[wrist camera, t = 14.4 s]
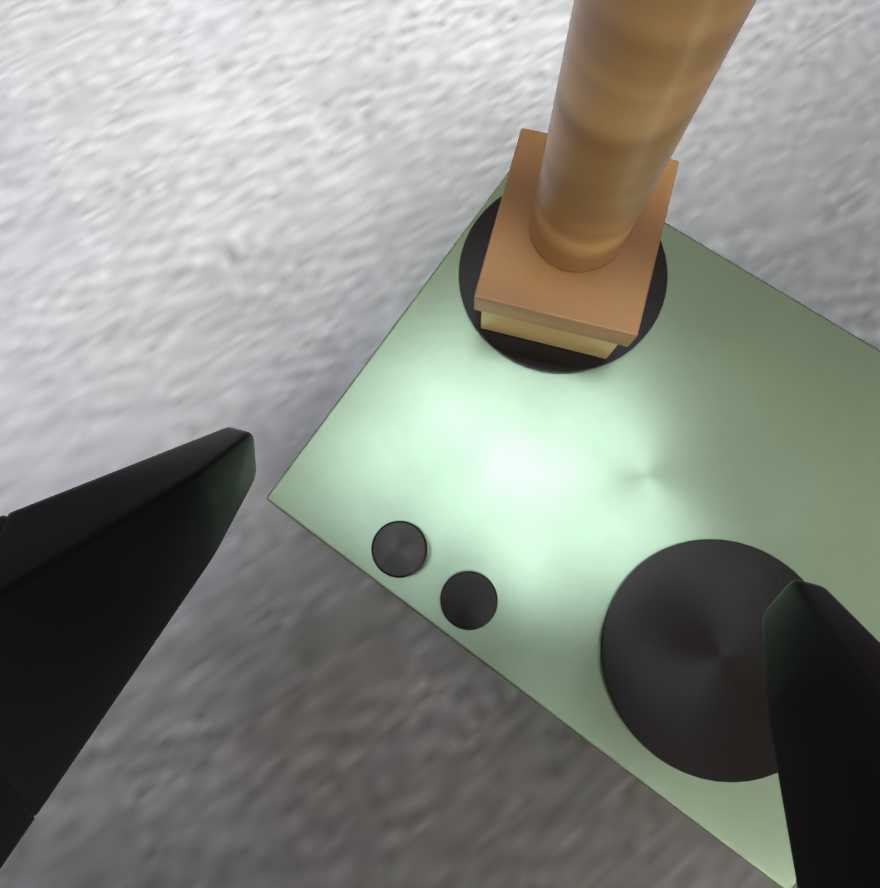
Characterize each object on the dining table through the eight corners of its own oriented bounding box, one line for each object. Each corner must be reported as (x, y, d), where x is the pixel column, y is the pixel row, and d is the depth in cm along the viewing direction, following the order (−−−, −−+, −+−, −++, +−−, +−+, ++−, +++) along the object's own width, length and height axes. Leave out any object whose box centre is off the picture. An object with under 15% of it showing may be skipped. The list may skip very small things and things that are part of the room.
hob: (755, 854, 18) (807, 913, 15) (284, 500, 21) (255, 497, 18) (993, 460, 20) (1080, 448, 17) (524, 175, 22) (532, 125, 19)
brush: (611, 366, 19) (1029, -105, 5) (473, 332, 19) (481, -191, 5) (647, 216, 19) (1102, -576, 5) (513, 187, 20) (617, -616, 6)
